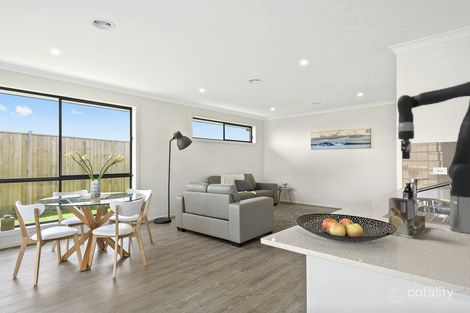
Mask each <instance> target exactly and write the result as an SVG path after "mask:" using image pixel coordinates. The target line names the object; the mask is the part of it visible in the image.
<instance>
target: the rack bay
mask: <svg viewBox="0 0 470 313" xmlns="http://www.w3.org/2000/svg"><path fill="white" fill-rule="evenodd" d="M425 228H426V216H425V215H419V214H415V230H414V231H413V234H412V235H404V234H400V233H395V234H393V235H392V236H396V237H402V238H407V239H413V240H417V239H418V237H419V236H420V234H422V232H423V231H424V229H425Z"/></svg>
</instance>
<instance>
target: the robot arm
mask: <svg viewBox="0 0 470 313" xmlns="http://www.w3.org/2000/svg"><path fill="white" fill-rule="evenodd" d="M462 97H470V81H467V82H465V83H464V82H463V83H461V84H457V85H454V86H450V87H449V86H448V87H446V88H441V89H435V90H431V91H430V90H429V91H424V92H420V93H419V94H417V95H413V96H410V95H407V94H404V95H401V96H400V97H398V99H397V104H396V106H397V111H398V128H397V131H398V133H397V134H398V135H397V137H398V138H397V139H398V140H400V151H401V157H402V159H403V160H410V159H411V151H412V147H411V146H412V145H411V142H412V141H411V140H413V139H415V125H414V112H413V110H412V109H414V108H419V107H422V106H428V105H435V104H440V103H443V102H446V101H449V100H453V99H457V98H462ZM448 176H449V178H450V179H451V189H450V190H449V213H450V214H449V216H450V217H449V218H450V219H449V220H450V222H449V227H450V230H452V231H453V232H458V233H465V234H470V100H469V101H468V107H467V111H466V113H465V115H464V117H463V119H462V121H461V124H460V127H459V131H458V134H457V139H456V146H455V153H454V155H453V159H452V160H451V163H450V166H449V168H448Z"/></svg>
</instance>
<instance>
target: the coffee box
mask: <svg viewBox="0 0 470 313" xmlns="http://www.w3.org/2000/svg"><path fill="white" fill-rule="evenodd" d="M415 215H416V214H415V199H410V198H404V197H403V198H401V197H391V198H388V223H389V224H391V225H393V226H395V227H396V228H397V232H396V233H400V234H404V235H412V234H413V231H414V230H415V229H416V226H415Z"/></svg>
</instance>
